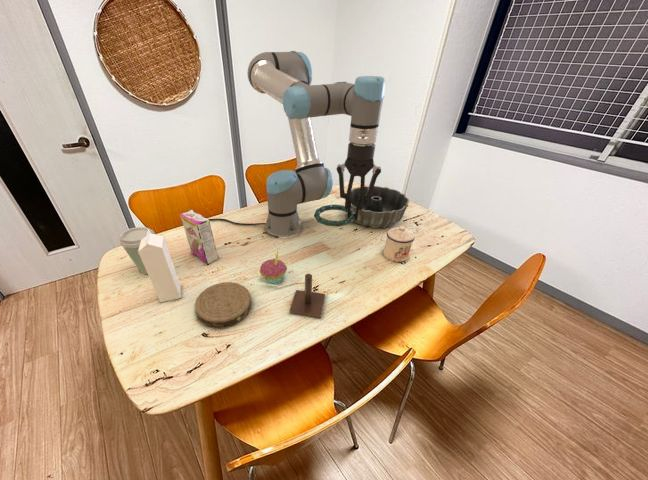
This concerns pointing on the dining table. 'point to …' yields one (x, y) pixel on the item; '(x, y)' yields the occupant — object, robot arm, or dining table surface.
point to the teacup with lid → (398, 244)
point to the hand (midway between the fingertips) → (352, 217)
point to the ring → (334, 223)
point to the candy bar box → (199, 236)
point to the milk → (159, 267)
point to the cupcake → (273, 270)
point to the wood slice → (223, 305)
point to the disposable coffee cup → (134, 244)
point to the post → (308, 301)
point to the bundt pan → (379, 207)
